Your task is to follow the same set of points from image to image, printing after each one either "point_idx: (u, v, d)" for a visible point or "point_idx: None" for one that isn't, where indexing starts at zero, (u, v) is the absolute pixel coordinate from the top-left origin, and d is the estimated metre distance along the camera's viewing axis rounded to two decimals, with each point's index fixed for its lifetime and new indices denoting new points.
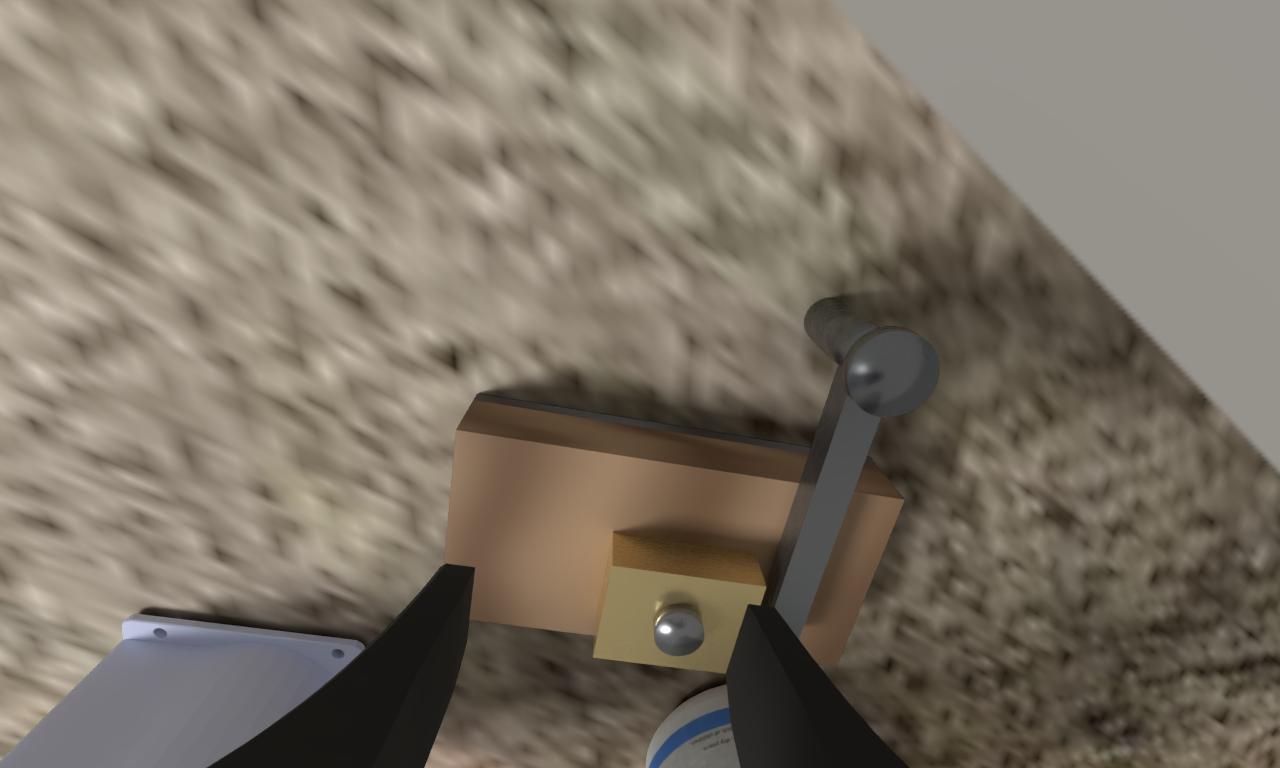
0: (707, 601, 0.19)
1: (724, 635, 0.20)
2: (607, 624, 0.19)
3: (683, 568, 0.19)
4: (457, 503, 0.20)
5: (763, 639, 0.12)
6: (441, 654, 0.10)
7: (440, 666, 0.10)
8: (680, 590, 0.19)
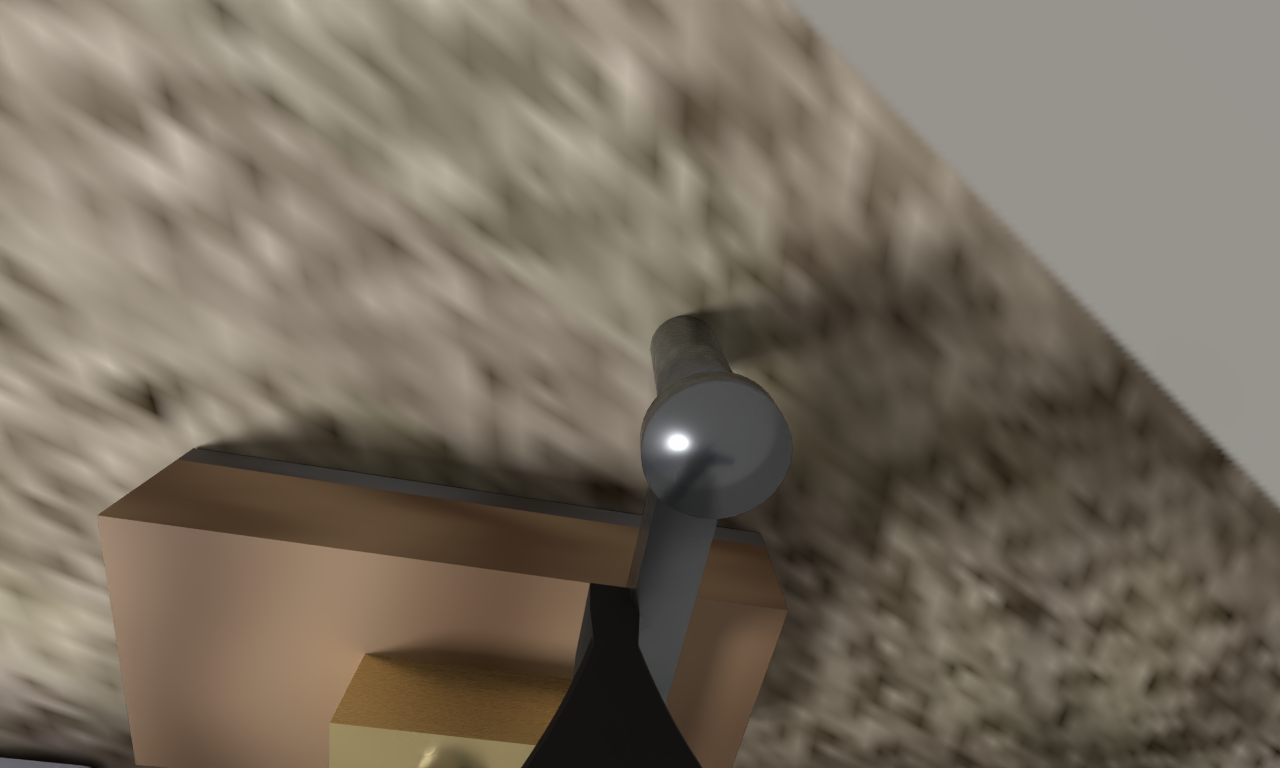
0: None
1: None
2: None
3: (447, 720, 0.13)
4: (125, 617, 0.13)
5: (589, 617, 0.11)
6: None
7: None
8: (441, 755, 0.13)
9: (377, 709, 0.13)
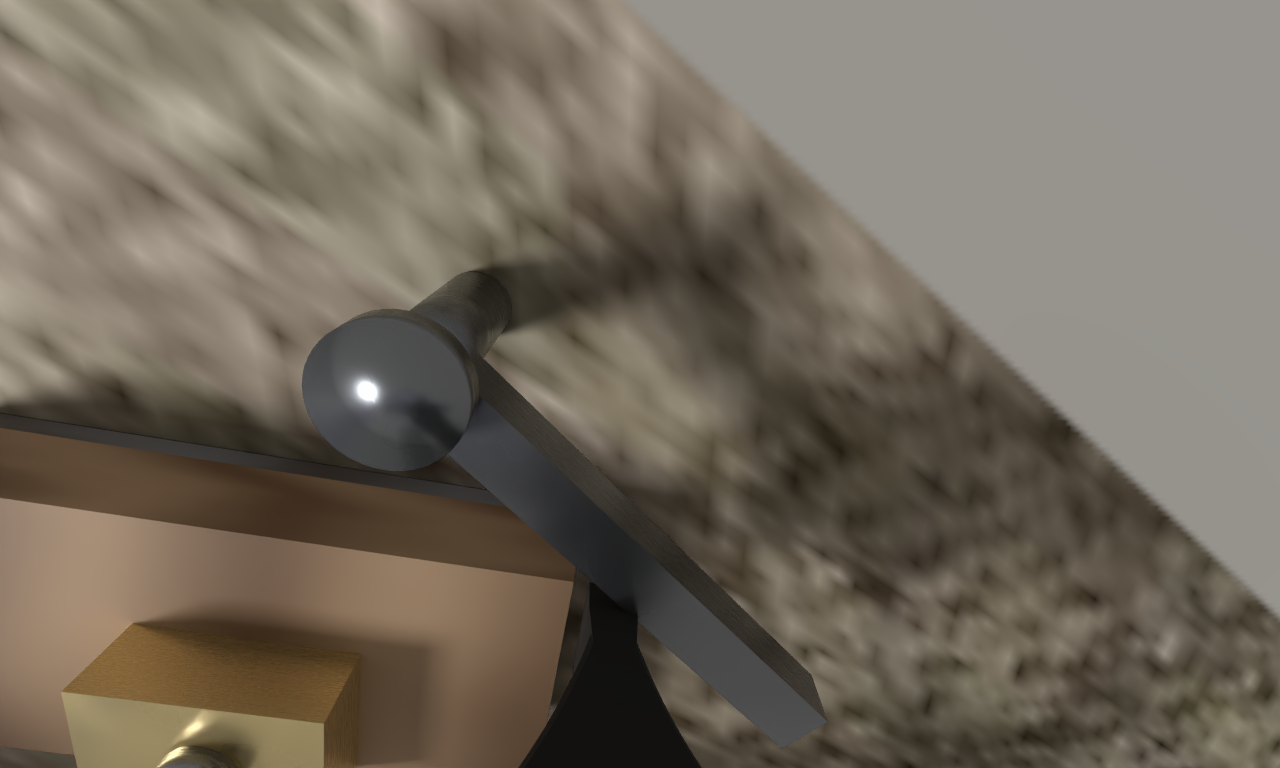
0: (236, 743, 0.12)
1: None
2: None
3: (196, 692, 0.12)
4: None
5: (588, 617, 0.11)
6: None
7: None
8: (187, 727, 0.12)
9: (121, 679, 0.12)
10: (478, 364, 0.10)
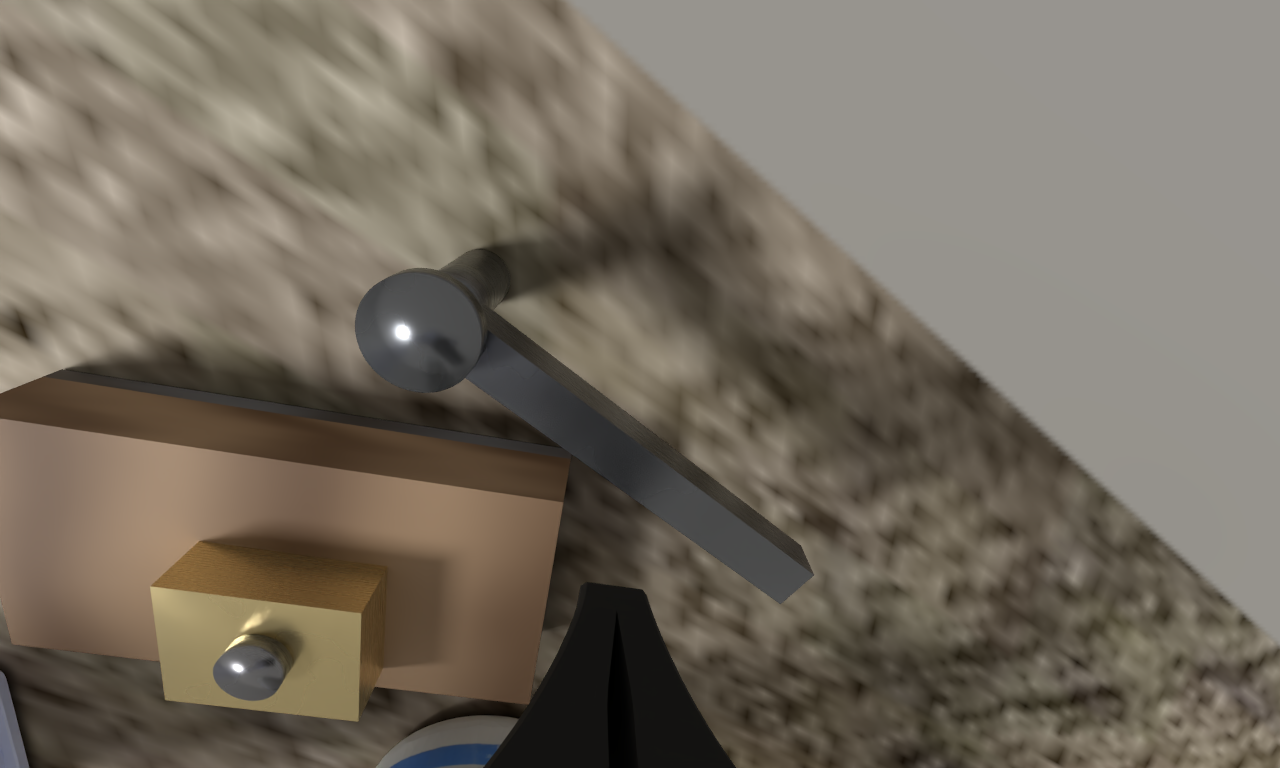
0: (290, 631, 0.15)
1: (326, 673, 0.16)
2: (169, 659, 0.15)
3: (256, 589, 0.15)
4: None
5: (616, 620, 0.11)
6: None
7: None
8: (250, 617, 0.15)
9: (196, 579, 0.15)
10: (485, 310, 0.13)
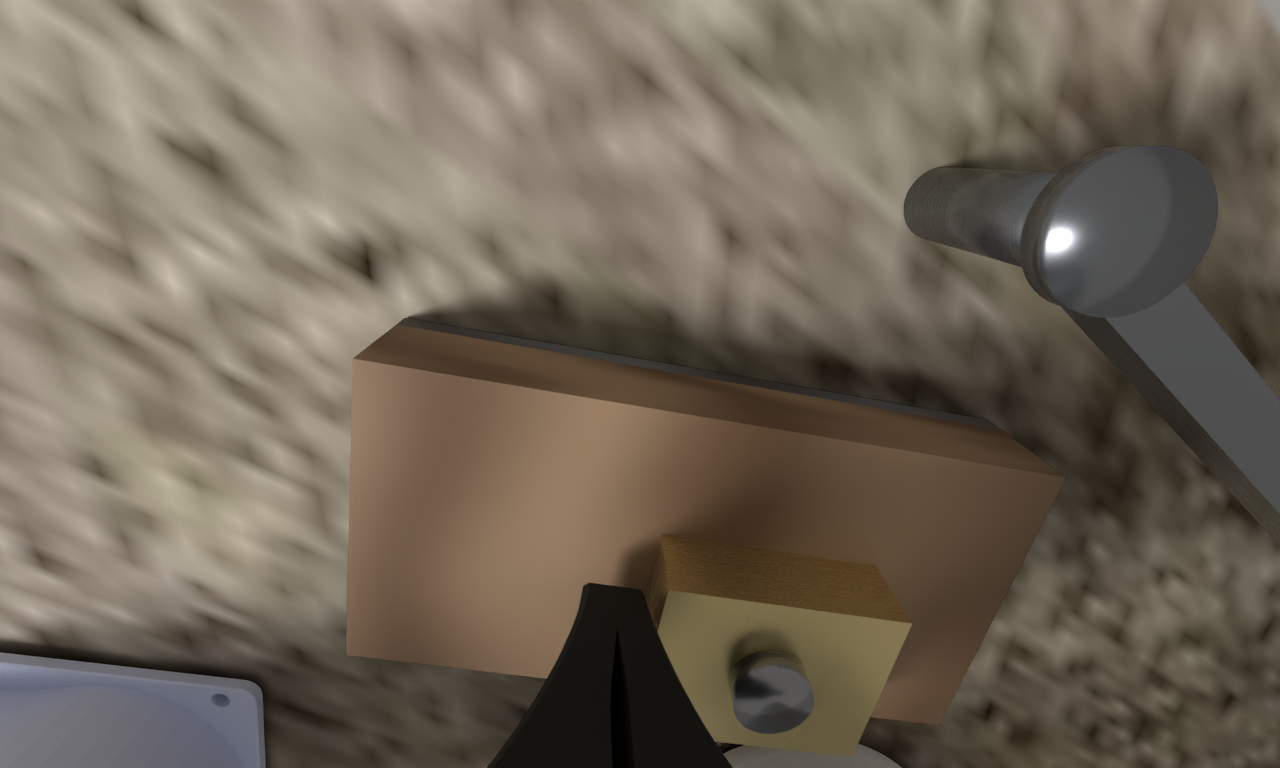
0: (816, 646, 0.12)
1: (838, 698, 0.13)
2: None
3: (779, 593, 0.12)
4: (362, 481, 0.12)
5: None
6: None
7: None
8: (775, 629, 0.12)
9: (706, 581, 0.12)
10: None
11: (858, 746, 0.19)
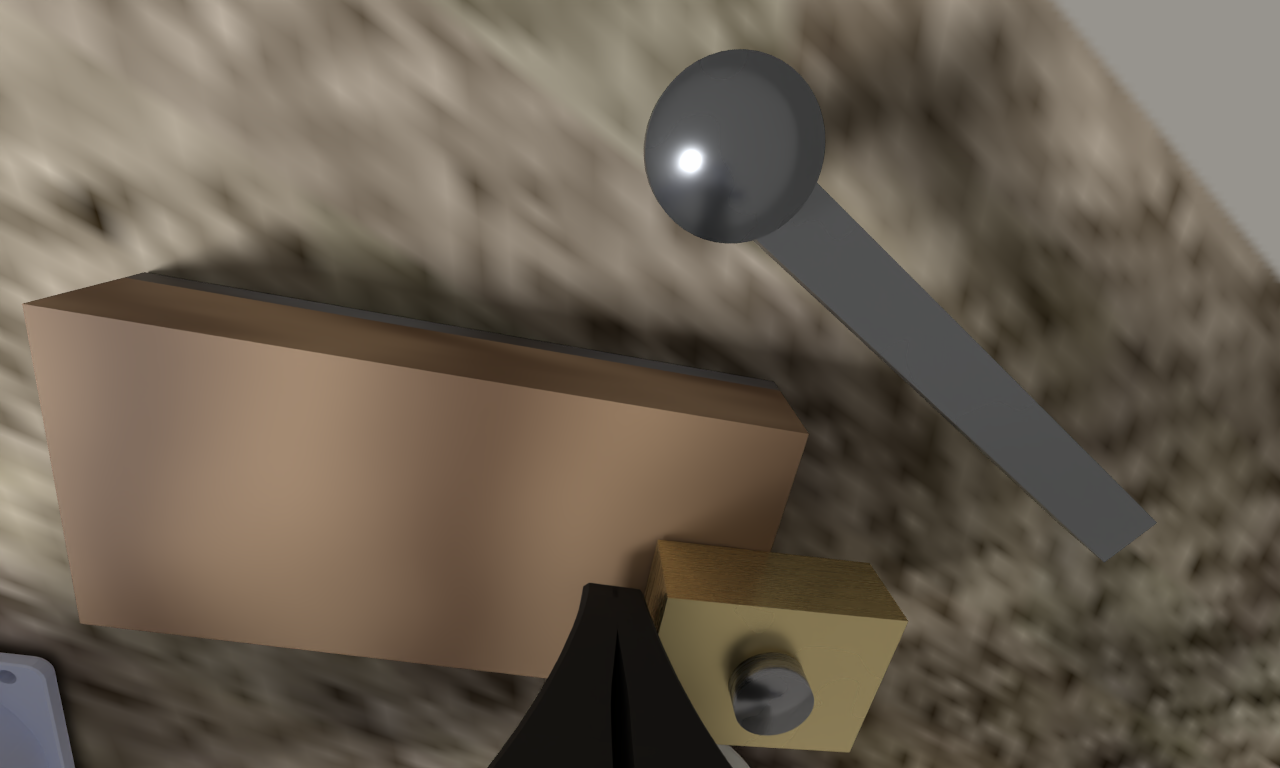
0: (815, 647, 0.12)
1: (836, 696, 0.13)
2: None
3: (777, 596, 0.12)
4: (60, 436, 0.12)
5: None
6: None
7: None
8: (774, 632, 0.12)
9: (704, 586, 0.12)
10: None
11: None
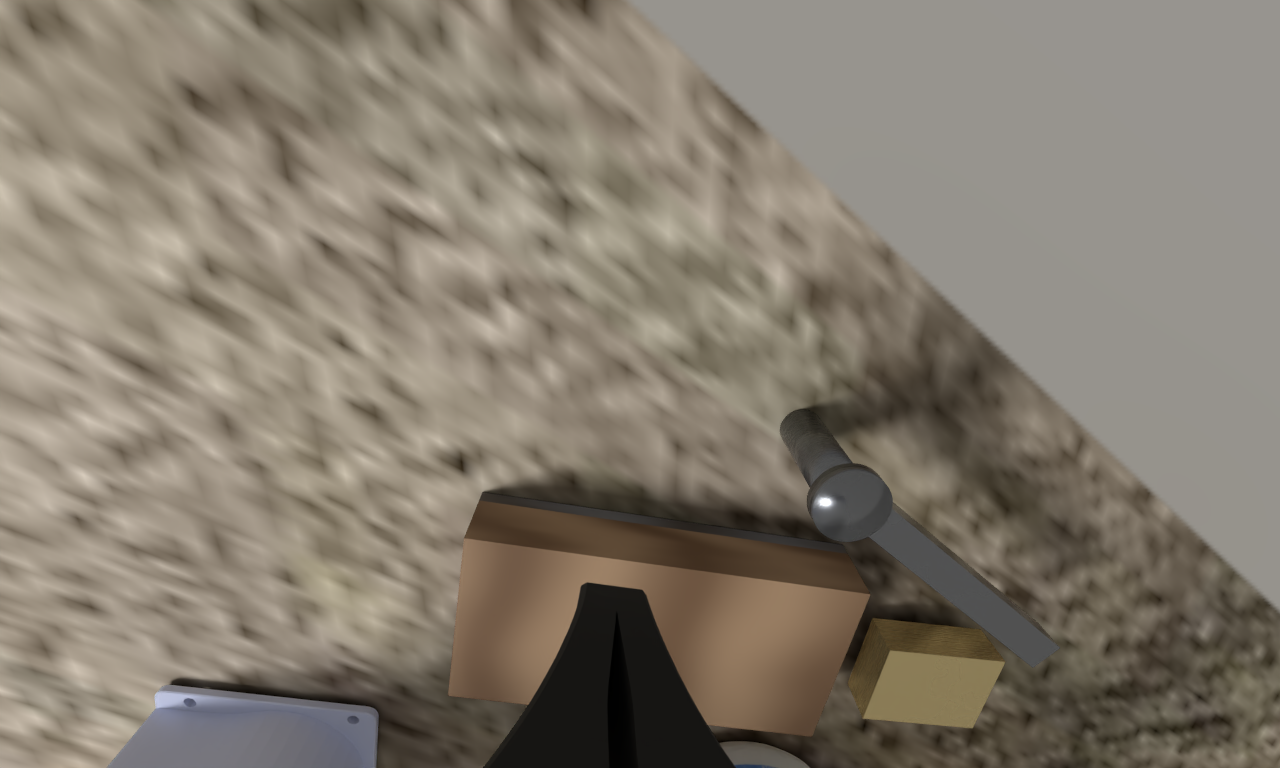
0: None
1: None
2: None
3: (935, 629, 0.26)
4: (465, 599, 0.22)
5: (616, 620, 0.11)
6: None
7: None
8: None
9: (968, 634, 0.26)
10: None
11: (773, 749, 0.28)
